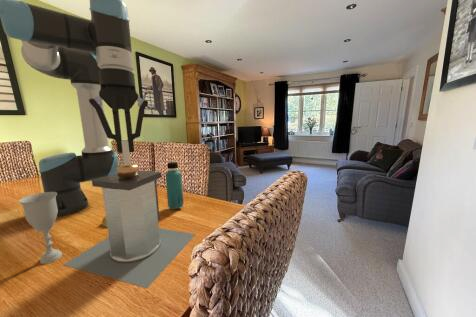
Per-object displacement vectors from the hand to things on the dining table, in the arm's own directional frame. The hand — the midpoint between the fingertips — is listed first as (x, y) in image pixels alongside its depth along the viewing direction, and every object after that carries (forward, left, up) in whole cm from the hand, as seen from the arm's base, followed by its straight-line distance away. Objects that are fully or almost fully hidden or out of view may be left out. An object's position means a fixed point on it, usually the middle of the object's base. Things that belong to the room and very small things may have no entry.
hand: (127, 164), depth 54 cm
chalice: (-19, -10, -25) cm, 33 cm away
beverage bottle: (-5, +27, -25) cm, 37 cm away
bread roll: (-20, +12, -26) cm, 34 cm away
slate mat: (0, 0, -25) cm, 25 cm away
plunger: (0, 0, -23) cm, 23 cm away
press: (0, +2, -25) cm, 25 cm away
